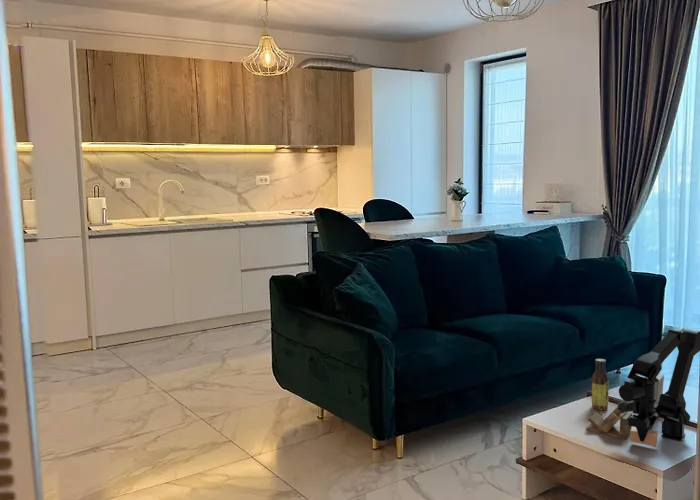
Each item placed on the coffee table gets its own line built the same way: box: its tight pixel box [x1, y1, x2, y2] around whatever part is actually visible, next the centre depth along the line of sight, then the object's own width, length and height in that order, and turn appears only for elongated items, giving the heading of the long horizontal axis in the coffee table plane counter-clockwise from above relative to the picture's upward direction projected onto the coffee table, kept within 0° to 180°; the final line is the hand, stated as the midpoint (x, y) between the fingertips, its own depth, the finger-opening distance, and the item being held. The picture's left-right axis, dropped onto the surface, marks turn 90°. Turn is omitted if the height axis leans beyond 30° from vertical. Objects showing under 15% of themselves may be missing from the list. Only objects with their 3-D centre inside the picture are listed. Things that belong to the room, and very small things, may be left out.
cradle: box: [585, 406, 633, 440], centre depth 234 cm, size 14×8×9 cm, turn 50°
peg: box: [629, 426, 659, 448], centre depth 220 cm, size 8×4×4 cm, turn 55°
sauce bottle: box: [591, 358, 610, 411], centre depth 255 cm, size 6×6×20 cm
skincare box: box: [642, 373, 665, 417], centre depth 248 cm, size 8×7×16 cm
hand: (643, 438), depth 220 cm, fingers closed on peg, 4 cm apart
